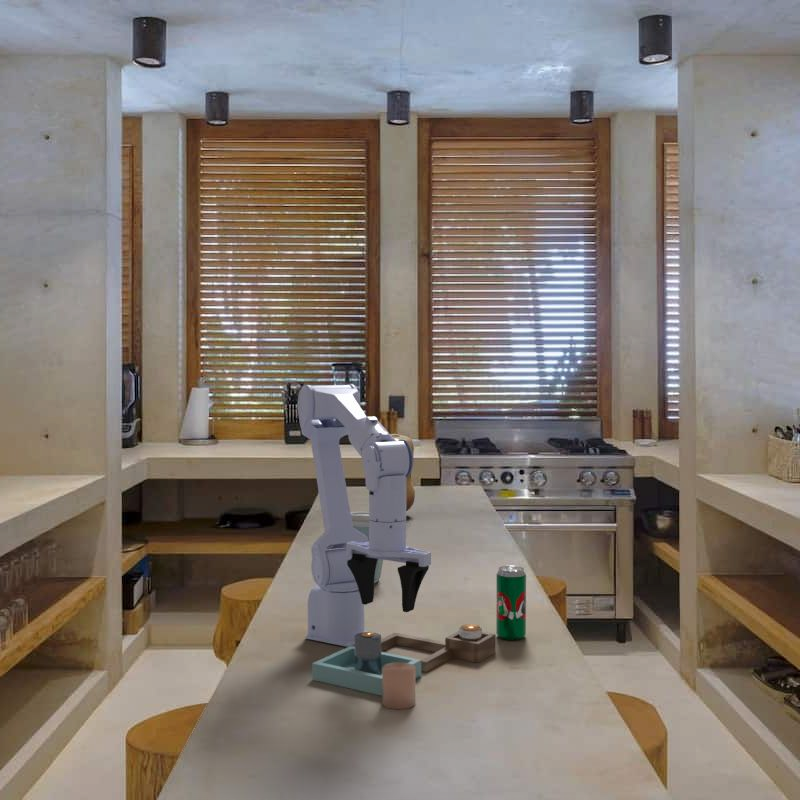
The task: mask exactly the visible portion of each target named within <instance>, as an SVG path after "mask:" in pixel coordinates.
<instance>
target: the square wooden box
mask: <svg viewBox="0 0 800 800" xmlns="http://www.w3.org/2000/svg"><path fill="white" fill-rule="evenodd" d="M496 635H497V634H494V633H490V632H484V631H482V639H481V640H479V641H477V642H474V641H469V640H463V639H459V630H458V631H456V632H454V633H452V634H451V635H448V636H446V637H445V640H444V642H445V647H447V648H452V658H451V659H456V660H457V659H458V660H462V661H463V660H464V661H468V662H471V663H472V662H473V663H477V664H478V663H480V662H482V661H484V660H486V659H487V658H489V657H490V656H493V655H494V654H495V653H496Z"/></svg>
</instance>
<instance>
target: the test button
mask: <svg viewBox="0 0 800 800" xmlns="http://www.w3.org/2000/svg"><path fill="white" fill-rule="evenodd" d="M482 629H483V628H482V627H481V626H480V625H479V624H474V623H473V624H472V623H469V624H463V625H461V626H460V627H459V630H458V631H459V639H463V640H469V641H474V642H477V641H479V640H481V639H482V632H483V630H482Z"/></svg>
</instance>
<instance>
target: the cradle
mask: <svg viewBox="0 0 800 800" xmlns="http://www.w3.org/2000/svg"><path fill="white" fill-rule="evenodd" d="M394 646H403V647H408V648H412V649H418V650H422V651H429V652H433V653H432V654H430V655H428V656H426V657H424V658H422V659H420V660H421V672H423V673H424V672H425V673H427V672H428V671H431V670H432V669H435V668H436V667H437V666H439V665H441V664H443V663H445V662H447V661H448V660H450V659H453V658H452V648H447V647H445V641H440V640H435V639H429V638H424V637H419V636H413V635H407V634H403V633H397V632H393V633H391V634H388V635H387V636H385V637H381V652H384V651H386V650H388V649H390V648H392V647H394Z"/></svg>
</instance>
